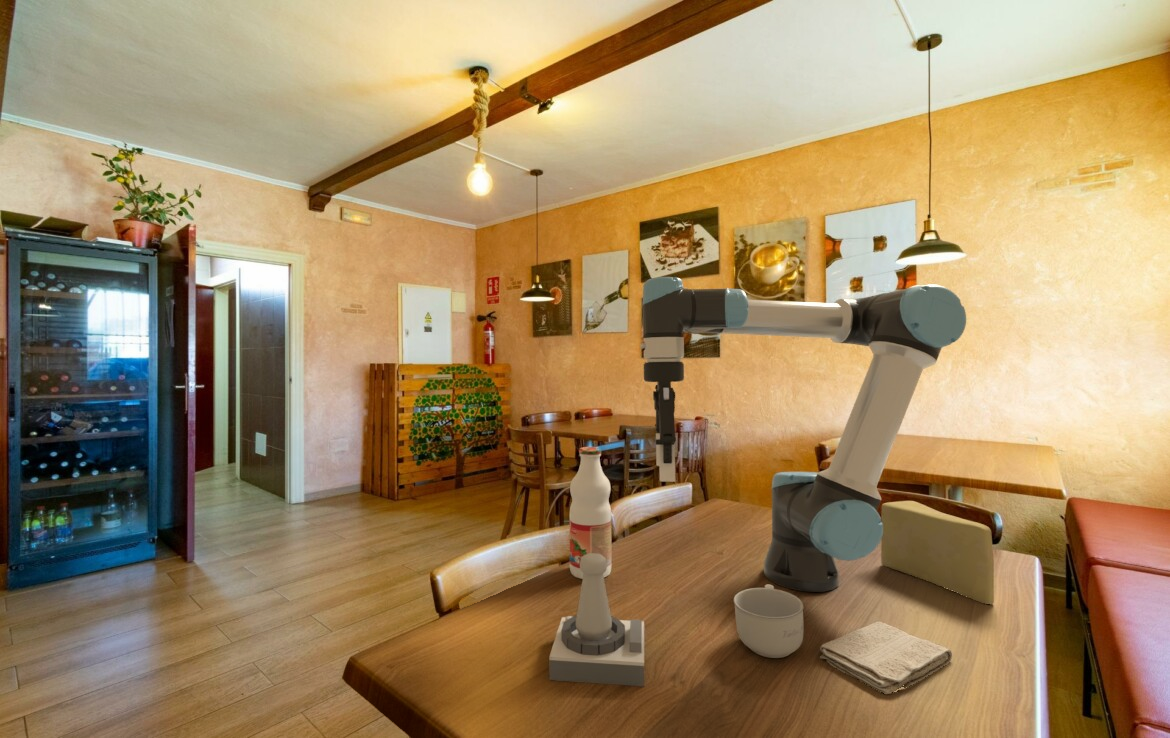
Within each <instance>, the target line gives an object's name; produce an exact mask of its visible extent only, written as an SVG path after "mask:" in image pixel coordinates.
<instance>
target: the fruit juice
mask: <svg viewBox="0 0 1170 738" xmlns="http://www.w3.org/2000/svg"><path fill="white" fill-rule="evenodd" d="M578 453H579V457H580V462H579V463H580V464H579V468H578V471H576V474H575V475H574V476H573V478H572V480H571V481H570V486H569V487H570V488H569V492H570V496H571V498H572V502H571V504H570V507H569V570H570V571H569V572H570V573H571V575H572V576H573V577H575V578H577V579H581V580H583V574H584V573H583V572H582V571H581V570H580V561H581V558H582V557H583V556H584V555H586V554H591V553H596V554H601V555H603V556H604V557H605V558H606V561H607V569H606V571H605V572H604V573H603V577H604V578H606V577H608V576H609V575H610V574H611V571H612V508H611V505H610V502H609V498H610V494H611V482H610V480H609V478H608V477H607V476H606V475H605V473H604V471H603V467H602V466H601V459H600V457H601V456H602V449H601V447H598V446H597V447H596V446H583V447H580V448H579V451H578Z"/></svg>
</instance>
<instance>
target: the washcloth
mask: <svg viewBox="0 0 1170 738" xmlns="http://www.w3.org/2000/svg"><path fill="white" fill-rule="evenodd" d="M819 649H820V652H821V653H822V654H821V655H820V656H819V659H821V660H825V661H826V663H828V664H829V665H830V666H832V667H833V668H834V669H836V668H837V670H838V671H840V672H842V673H843V674H845V673H846V674H845V675H848V676H849V675H850V677H852V678H854V677H855V678H857V679H859V680H860V681H859V680H858V681H859V682H861V681H862V682H864V683H865V684H864V683H863V684H864V685H866V684H867V685H866V686H868V685H869V686H871V687H872V689H873V688H874V689H873V690H875V689H877V690H879V691H880V692H879V691H878V692H879V693H881V692H883V693H884V695H891V694H895V693H894V691H896V690H897V689H899V688H901V687H904V688H906V687H908V686H910V685H912V686H914V685H915V684H916V682H917V683H919V682H920V681H922V680H924V679H925V677H926V678H927V677H929V676H930V675H932V674H934V673H935V672H937V671H939V670H940V668H941V669H943V668H944V667H946V666H948V665H949V663H950V662H951V661H952V657H953V653H952V650H950V649H948V648H947V647H945V646H943V645H938V644H937V643H934V642H932V641H930V640H929V639H923V638H919V637H918V636H914V635H912V634H909V633H907V632H906V631H903V630H901V629H900V628H897V627H895V626H892V625H890V624H887V623H884V622H882V621H875V622H872V623H871V624H868V625H867V626H863V627H861V628H858V629H854V630H852V631H851V632H848V633H847V634H846V633H845V634H844V635H841V636H839V637H837V638H835V639H832V640H829V641H827V642H824V643H822V645H821V646H820V647H819ZM945 665H946V666H945ZM943 666H944V667H943ZM933 672H934V673H933ZM928 675H929V676H928ZM855 678H854V679H855ZM857 679H856V680H857ZM918 681H919V682H918ZM862 682H861V683H862ZM913 684H914V685H913ZM903 685H904V686H903ZM869 686H868V687H869ZM871 687H870V688H871ZM910 687H911V686H910ZM908 688H909V687H908ZM877 690H876V691H877ZM892 692H893V693H892ZM883 693H882V694H883Z"/></svg>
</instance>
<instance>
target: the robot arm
mask: <svg viewBox="0 0 1170 738" xmlns="http://www.w3.org/2000/svg"><path fill="white" fill-rule="evenodd" d="M642 286H643V287H642V288H643V289H642V302H641V306H642V330H643V331H642V334H643V342H644V343H643V342H642V343H640V345H639V347H640V349H644V350H643V359H644V360H646V361H647V362H644V363H643V380H644V382H647V383H657V384H655V387H654V389H655V390H654V391H653V392H652V396H653V398H652V399H653V401H654V403H653V404H654V407H653V408H654V410H655V424H654V426H655V432H656V433H655V450H656V451H655V455H656V456H655V457H656V458H655V459H656V460H655V461H656V464H655V465H656V466H657V467H659V469H658V471H659V482H665V483H666V482H668V483H669V482H672V483H673V482H674V483H675V482H676V445H675V443H676V441H677V437H676V429H675V427H676V425H675V424H676V423H675V410H676V406H675V404H676V403H675V401H676V391H675V389H674V388H673V387H672V383H676V382H683V381H684V380H685V366H684V365H685V363H684V362H683V361H682V359H683V358H685V343H684V341H685V337H684V333H687V334H690V335H691V334H692V335H697V334H700V333H701V334H702V333H703V334H730V335H749V336H752V335H753V336H771V337H772V336H775V337H776V336H777V337H797V338H799V337H801V338H821V339H823V338H824V339H830V340H831V341H832V342H834V343H836V344H849V345H857V346H864V347H869V349H870V351H871V352H872V354H873V357H872V358H871V361H870V363H869V366H868V369H867V371H866V374H865V377H864V379H863V382H862V384H861V387H860V389H859V392H858V394H857V396H856V399H855V402H854V405H853V407H852V409H851V412H850V414H849V417H848V419H847V421H846V425H845V427H844V429H843V431H842V434H841V437H840V440H839V442H838V444H837V447H836V449H835V452H834V455H833V456H832V459H831V462H830V464H829V467H827V468H826V469H824V470H821V471H819V472H814V471H781V472H777V473H775V474H774V475H773V477H772V484H771V530H772V532H771V534H772V535H771V542H770V544H769V547H768V550H767V552H766V555H765V558H764V562H763V574H764V576H765V577H766V579H768V580H769V581H771V582H772V583H774V584H776V585H778V586H781V587H783V588H786V589H790V590H795V591H800V592H808V593H809V592H810V593H823V592H828V591H832V590H834V589H836V588H838V586H839V584H840V581H839V579H840V578H839V577H840V575H839V574H840V573H839V570H838V567H837V563H836V561H835V560H840V561H846V562H847V561H851V562H852V561H857V560H858V559H861V558H865V557H867V556H868V555H870V554H871V553H873V552H874V550H876V548H877V547H878V546H879V545H880V543H881V538H882V535H883V523H882V522H881V516H880V514H879V512H878V510H879V509H878V508H879V506H880V504H881V501H882V497H881V494H880V492H879V490H878V488H877V486H878V483H879V481H880V479H881V476H882V474H883V471H884V469H885V466H886V464H887V460H888V459H889V455H890V453H891V451H892V448H893V446H894V443H895V441H896V438H897V436H898V433H899V431H900V428H901V426H902V423H903V421H904V418H905V416H906V413H907V410H908V409H909V405H910V403H911V400H912V398H913V396H914V392H915V390H916V388H917V386H918V383H919V380H920V378H921V375H922V373H923V371H924V369H926V368H929V367H931V366H934V365H936V363H937V361H938V358H939V356H940V353H941V351H942V348H944V347H947V346H950V345H952V344H953V343H955V342H956V341H958V340H959V339H960V338H961V336H962V335H963V333H964V331H965V329H966V323H967V314H966V309H965V306H963V305H962V302H961V299H960V298H959V297H958V295H957V294H956V293H955V292H953V291H952V290H951V289H949V288H947V287H945V286H942V285H940V284H925V285H922V284H920V285H919V284H917V285H913V286H910V287H908V288H905V289H899V290H894V291H889V292H883V293H880V294H876V295H870V296H866V297H860V298H849V299H848V298H839V299H836V300H835V301H834V302H832V303H831V302H830V303H829V302H812V301H811V302H810V301H790V300H789V301H788V300H787V301H786V300H766V299H765V300H764V299H749V298H748V296H747V294H746V292H745V291H744V290H743V289H740V288H729V287H725V288H703V289H702V288H701V289H696V288H695V289H694V288H693V289H692V288H691V289H689V288H685V286H684V284H683V280H682V279H681V278H679V277H677V276H673V277H672V276H661V277H660V276H659V277H653V278H649V279H647V280H646V281H645V282H644V283H643V285H642Z"/></svg>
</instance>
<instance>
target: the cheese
mask: <svg viewBox="0 0 1170 738" xmlns="http://www.w3.org/2000/svg"><path fill="white" fill-rule="evenodd" d="M880 513H881V516H880V517H881V522H882V523H883V535H882V538H881V541H880V543H881V545H880V547H881V548H880V551H881V552H880V554H881V555H880V557H881V560H880V561H881V565H882V566H883V567H886V568H889V569H892V570H895V571H898V572H900V573H903V574H907V575H908V576H911V575H912V577H914V576H915V577H914V578H917V577H918V578H917V579H920V580H922V579H923V580H922V581H925V580H926V581H925V582H928V581H929V582H928V583H930V582H932V583H931V584H933V583H934V584H933V585H935V584H937V585H936V586H938V585H939V586H938V587H940V586H942V587H945V588H948V589H950V590H953V591H955V592H958V593H959V594H962V595H964V596H967V597H969V598H972V599H974V600H973V601H975V600H977V601H979V602H978V603H980V602H982V603H985V604H984V605H986V604H990V605H994V600H995V594H994V593H995V592H994V591H995V589H994V588H995V587H994V586H995V581H994V580H995V579H994V578H995V575H994V574H995V573H994V572H995V566H994V565H995V564H994V563H995V561H994V550H993V549H994V547H993V538H992V529H991V528H990V527H989V526H987V525H985V524H982V523H980V522H976V521H973V520H969V519H965V518H961V517H958V516H955V515H951V514H947V513H944V512H941V511H939V510H936V509H934V508H932V507H930V506H927V505H926V504H922V503H920V502H917V501H914V500H899V501H892V502H891V501H889V502H885V503H882V505H881V512H880ZM942 587H941V588H942ZM945 588H944V589H945ZM950 590H949V591H950ZM959 594H958V595H959ZM962 595H961V596H962ZM964 596H963V597H964ZM967 597H966V598H967ZM969 598H968V599H969ZM972 599H971V600H972ZM977 601H976V602H977ZM982 603H981V604H982Z"/></svg>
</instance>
